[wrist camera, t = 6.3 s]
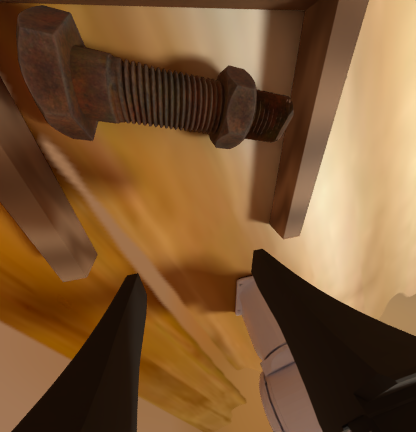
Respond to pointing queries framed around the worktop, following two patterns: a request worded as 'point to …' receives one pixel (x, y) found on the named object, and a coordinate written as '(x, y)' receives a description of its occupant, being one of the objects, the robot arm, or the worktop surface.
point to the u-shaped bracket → (291, 150)
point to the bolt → (136, 89)
